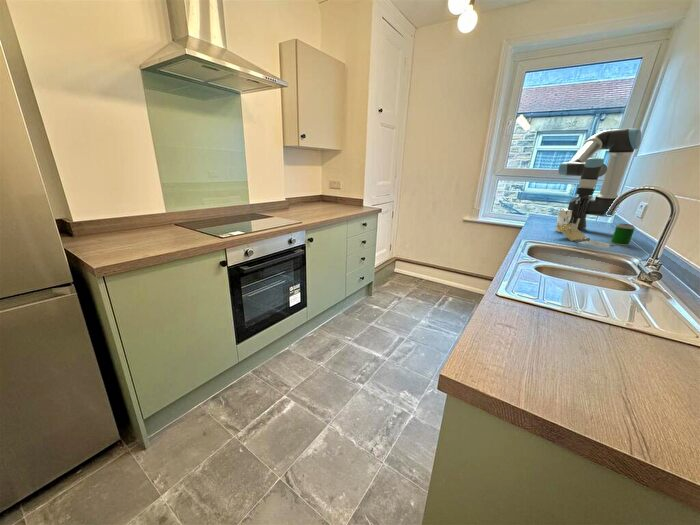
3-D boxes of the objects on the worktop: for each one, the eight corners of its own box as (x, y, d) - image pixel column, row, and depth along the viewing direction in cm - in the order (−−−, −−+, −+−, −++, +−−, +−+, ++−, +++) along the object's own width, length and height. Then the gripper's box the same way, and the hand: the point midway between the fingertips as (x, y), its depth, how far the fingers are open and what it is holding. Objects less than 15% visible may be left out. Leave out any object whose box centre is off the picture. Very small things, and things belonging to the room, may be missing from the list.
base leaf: (585, 241, 167) (587, 237, 166) (616, 247, 155) (617, 243, 155) (572, 243, 160) (573, 239, 159) (603, 250, 148) (604, 246, 147)
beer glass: (555, 233, 185) (562, 210, 180) (551, 231, 191) (558, 208, 187) (567, 234, 183) (574, 211, 178) (563, 232, 190) (570, 209, 185)
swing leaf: (569, 224, 173) (572, 222, 172) (588, 241, 166) (591, 239, 165) (555, 226, 166) (558, 223, 164) (574, 244, 159) (577, 242, 157)
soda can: (631, 247, 156) (639, 226, 152) (617, 247, 156) (625, 225, 152) (619, 244, 163) (627, 223, 159) (606, 243, 163) (613, 223, 159)
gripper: (584, 187, 164) (571, 227, 172) (572, 186, 158) (560, 228, 166) (599, 188, 158) (586, 229, 166) (588, 188, 152) (575, 231, 160)
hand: (573, 229), depth 166 cm, fingers closed
